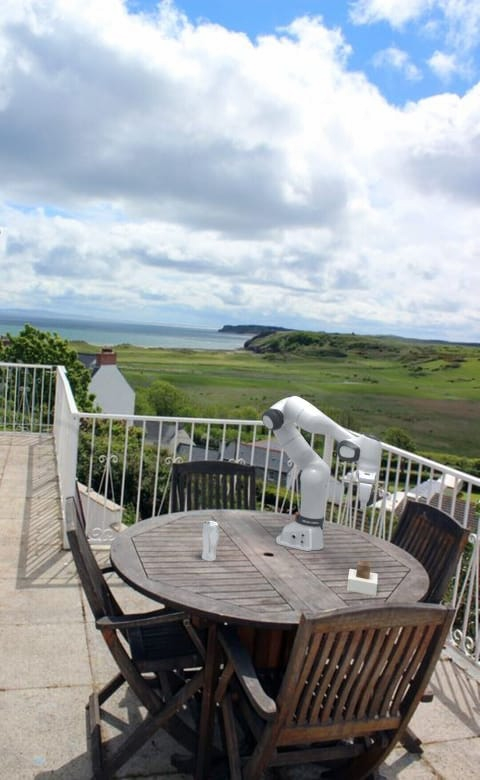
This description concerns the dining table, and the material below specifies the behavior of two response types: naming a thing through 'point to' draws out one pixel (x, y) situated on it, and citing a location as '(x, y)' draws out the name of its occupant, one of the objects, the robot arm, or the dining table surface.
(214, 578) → the dining table surface
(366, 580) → the base block
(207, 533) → the white cylinder
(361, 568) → the walnut cube
